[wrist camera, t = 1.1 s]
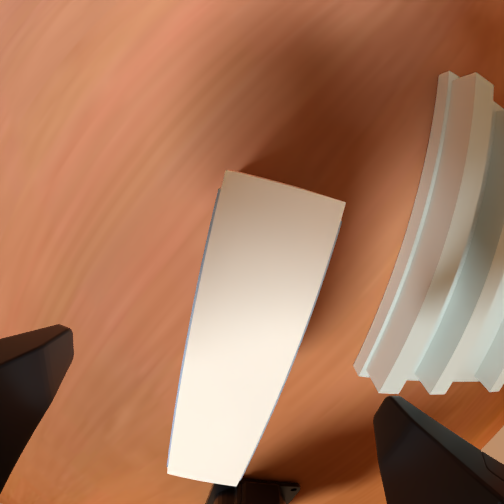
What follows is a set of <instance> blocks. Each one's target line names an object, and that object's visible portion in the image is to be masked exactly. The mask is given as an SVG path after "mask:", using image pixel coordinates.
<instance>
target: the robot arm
mask: <svg viewBox="0 0 504 504" xmlns="http://www.w3.org/2000/svg"><path fill="white" fill-rule="evenodd" d="M73 356H74V349H73V333H72V330H71V329H70V328H68V327H65V326H63V325H60V324H57V325H53V326H50V327H46V328H42V329H38V330H34V331H30V332H26V333H22V334H18V335H14V336H10V337H6V338H2V339H0V494H1V492H2V489H3V487H4V485H5V484H6V482H7V480H8V478H9V476H10V474H11V472H12V470H13V468H14V466H15V464H16V463H17V461H18V459H19V457H20V455H21V453H22V452H23V450H24V448H25V446H26V445H27V443H28V441H29V439H30V438H31V436H32V434H33V432H34V431H35V429H36V427H37V426H38V424H39V422H40V421H41V419H42V417H43V416H44V414H45V412H46V411H47V409H48V408H49V406H50V404H51V403H52V401H53V399H54V397H55V395H56V393H57V391H58V389H59V386H60V384H61V382H62V380H63V378H64V376H65V374H66V372H67V370H68V368H69V366H70V364H71V362H72V360H73ZM373 425H374V432H375V440H376V448H377V456H378V463H379V468H380V473H381V477H382V482H383V487H384V491H385V496H386V501H387V504H504V464H502V463H500V462H498V461H497V460H495V459H493V458H492V457H490V456H489V455H487V454H486V453H484V452H481V450H479V449H478V448H476V447H475V446H473V445H471V444H470V443H468V442H467V441H465V440H464V439H462V438H461V437H459V436H458V435H456V434H455V433H453V432H452V431H450V430H449V429H447V428H446V427H444V426H443V425H441V424H440V423H438V422H437V421H435V420H434V419H432V418H431V417H429V416H428V415H426V414H425V413H424V412H422V411H421V410H419V409H418V408H416V407H415V406H413V405H412V404H410V403H409V402H407V401H406V400H405V399H403V398H402V397H400V396H387V397H386V398H385V399H384V401H383V403H382V404H381V406H380V407H379V409H378V411H377V412H376V414H375V416H374V419H373ZM299 490H300V484H298V483H287V482H271V481H260V480H250V479H241V481H239V483H238V485H237V486H229V485H222V484H215V483H213V485H212V488H211V490H210V493H209V496H208V498H207V501H206V503H205V504H289V503H290V501H291V500H292V499H293V498H294V497H295V495H296V494H297V493H298V492H299Z"/></svg>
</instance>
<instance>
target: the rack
mask: <svg viewBox="0 0 504 504" xmlns="http://www.w3.org/2000/svg"><path fill="white" fill-rule="evenodd" d="M493 95H494V85H493V84H492V83H490V82H489V81H488V80H486V79H485V78H484V77H482V76H481V75H479V74H478V73H477V72H475V73H472V74H469V75H466V76H463V77H459V76H457V75H456V74H454V73H453V72H451V71H447V72H445V73H442V74H440V75H439V78H438V87H437V95H436V102H435V109H434V115H433V121H432V127H431V133H430V138H429V143H428V148H427V153H426V158H425V162H424V167H423V171H422V175H421V179H420V184H419V188H418V191H417V195H416V199H415V203H414V206H413V210H412V213H411V217H410V220H409V224H408V227H407V230H406V234H405V237H404V240H403V243H402V246H401V249H400V252H399V255H398V258H397V261H396V264H395V267H394V270H393V272H392V275H391V278H390V281H389V283H388V286H387V289H386V291H385V294H384V296H383V299H382V301H381V304H380V306H379V309H378V311H377V314H376V316H375V319H374V321H373V323H372V326H371V328H370V330H369V332H368V335H367V337H366V339H365V341H364V344H363V346H362V348H361V350H360V352H359V354H358V357H357V359H356V361H355V363H354V365H353V366H354V368H355V370H356V372H357V374H358V376H361V377H370V378H371V380H372V382H373V384H374V385H375V387H376V389H377V391H378V393H388V394H399V392H400V391H401V389H402V387H403V386H404V384H405V382H406V380H414V381H420V382H421V383H422V384H423V386H424V387H425V389H426V390H427V391H428V393H429V394H445V393H446V392H447V390H448V389H449V387H450V385H451V384H452V382H479V381H480V382H481V383H482V384H483V385H484V387H485V388H486V389H487V390H488V391H489V392H497V391H499V390H500V389H501V387H502V386H503V384H504V109H503V108H502V107H501V106H499V105H498V104H497V103H496V102H494V101H493Z"/></svg>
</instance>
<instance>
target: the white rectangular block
mask: <svg viewBox="0 0 504 504" xmlns="http://www.w3.org/2000/svg"><path fill="white" fill-rule="evenodd" d="M345 204H346V202H343V201H340V200H337V199H334V198H331V197H328V196H325V195H322V194H318V193H315V192H312V191H309V190H306V189H302V188H299V187H296V186H292V185H289V184H285V183H281V182H278V181H274V180H270V179H266V178H262V177H258V176H255V175H251V174H246V173H242V172H238V171H231V170H225V174H224V178H223V183H222V187H221V188H219V189H218V193H217V197H216V202H215V206H214V210H213V214H212V219H211V223H210V227H209V232H208V236H207V241H206V245H205V250H204V254H203V259H202V264H201V268H200V273H199V278H198V283H197V287H196V292H195V297H194V302H193V307H192V313H191V318H190V323H189V328H188V334H187V339H186V345H185V350H184V356H183V362H182V367H181V373H180V379H179V385H178V392H177V398H176V404H175V411H174V417H173V424H172V431H171V438H170V446H169V453H168V461H167V467H168V471H167V474H171V475H175V476H180V477H184V478H189V479H194V480H199V481H204V482H210V483H215V484H222V485H229V486H237V485H238V483H239V481H241V479H242V477H243V475H244V473H245V471H246V469H247V467H248V464H249V462H250V460H251V458H252V456H253V454H254V452H255V450H256V448H257V446H258V444H259V441H260V439H261V437H262V435H263V433H264V431H265V428H266V426H267V424H268V422H269V419H270V417H271V415H272V413H273V410H274V408H275V406H276V403H277V401H278V399H279V396H280V394H281V392H282V389H283V387H284V385H285V382H286V380H287V377H288V375H289V372H290V370H291V367H292V365H293V362H294V360H295V357H296V355H297V352H298V350H299V347H300V344H301V342H302V339H303V336H304V334H305V331H306V328H307V326H308V323H309V320H310V318H311V315H312V312H313V309H314V306H315V304H316V301H317V298H318V295H319V292H320V289H321V286H322V283H323V280H324V277H325V274H326V271H327V268H328V265H329V262H330V259H331V256H332V253H333V250H334V246H335V243H336V240H337V237H338V233H339V230H340V227H341V223H342V221H341V218H342V215H343V211H344V208H345Z"/></svg>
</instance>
